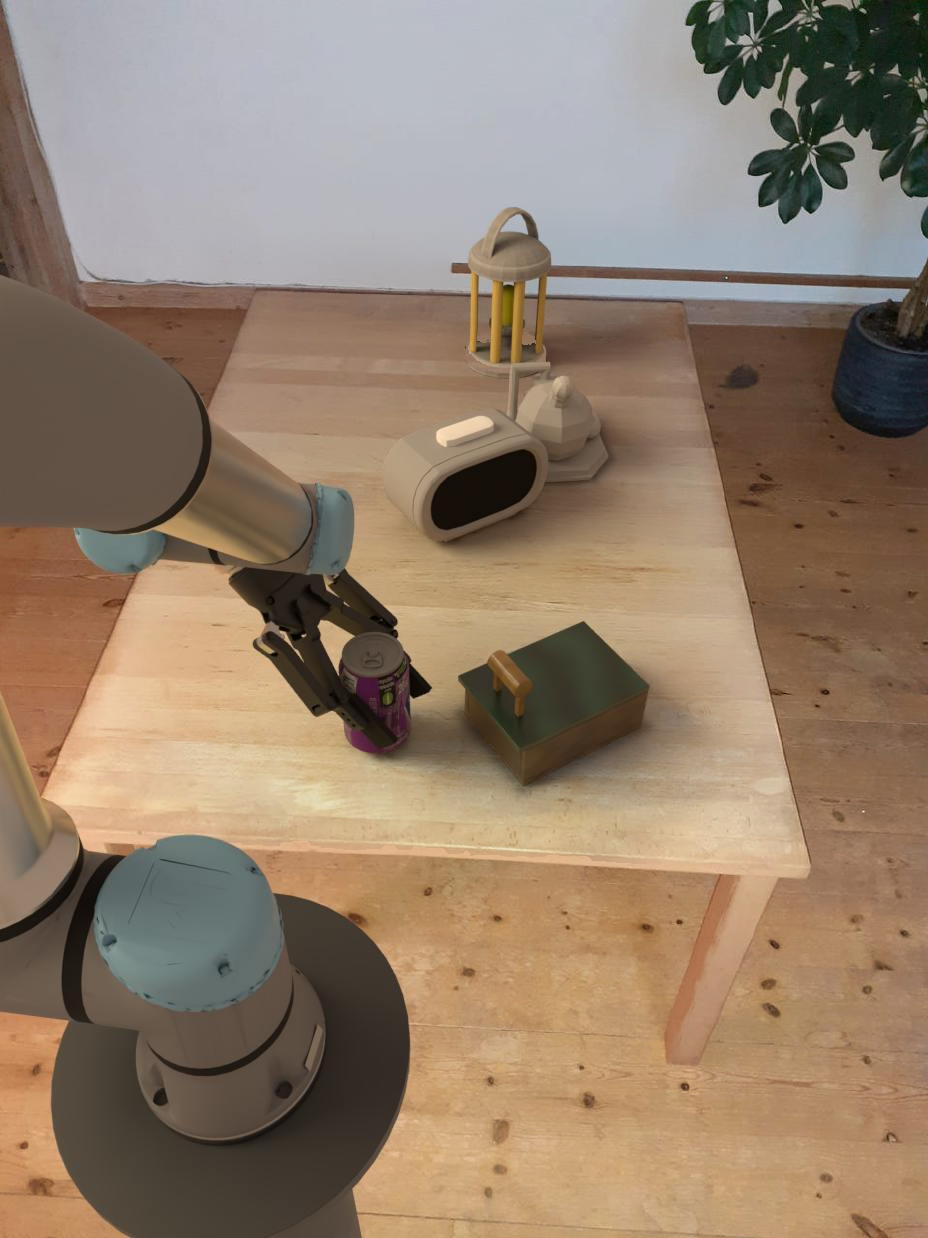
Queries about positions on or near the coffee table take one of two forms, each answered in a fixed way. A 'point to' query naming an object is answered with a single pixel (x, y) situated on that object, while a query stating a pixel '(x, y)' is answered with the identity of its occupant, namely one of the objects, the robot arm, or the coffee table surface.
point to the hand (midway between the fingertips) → (406, 718)
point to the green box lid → (551, 685)
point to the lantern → (508, 292)
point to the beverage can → (377, 685)
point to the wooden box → (558, 738)
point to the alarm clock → (464, 473)
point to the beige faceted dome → (558, 422)
